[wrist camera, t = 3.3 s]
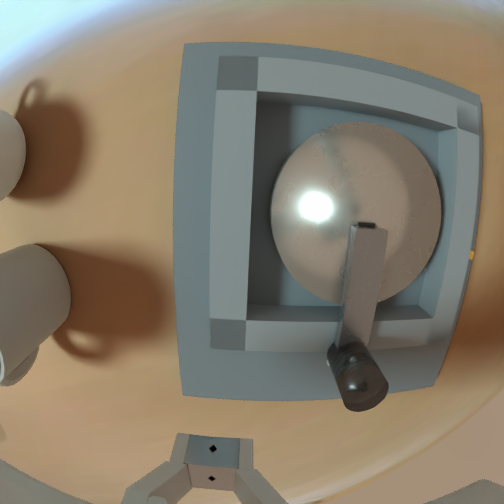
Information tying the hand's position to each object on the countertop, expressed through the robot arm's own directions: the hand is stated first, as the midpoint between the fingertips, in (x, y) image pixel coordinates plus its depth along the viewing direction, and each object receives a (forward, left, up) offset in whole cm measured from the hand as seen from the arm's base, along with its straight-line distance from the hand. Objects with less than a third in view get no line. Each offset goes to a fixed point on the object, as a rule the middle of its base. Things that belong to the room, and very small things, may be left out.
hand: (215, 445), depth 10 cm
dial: (-6, +7, -9) cm, 13 cm away
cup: (0, -16, -11) cm, 19 cm away
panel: (-6, +7, -10) cm, 14 cm away
